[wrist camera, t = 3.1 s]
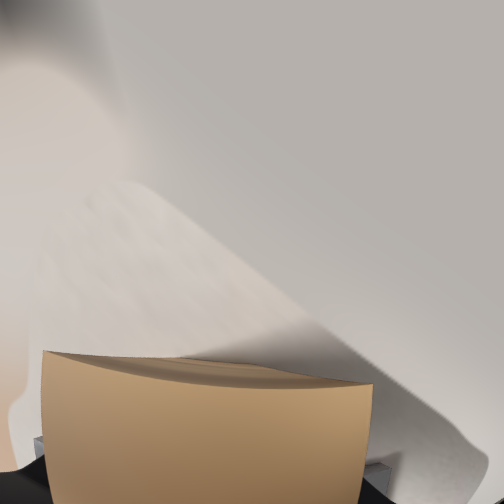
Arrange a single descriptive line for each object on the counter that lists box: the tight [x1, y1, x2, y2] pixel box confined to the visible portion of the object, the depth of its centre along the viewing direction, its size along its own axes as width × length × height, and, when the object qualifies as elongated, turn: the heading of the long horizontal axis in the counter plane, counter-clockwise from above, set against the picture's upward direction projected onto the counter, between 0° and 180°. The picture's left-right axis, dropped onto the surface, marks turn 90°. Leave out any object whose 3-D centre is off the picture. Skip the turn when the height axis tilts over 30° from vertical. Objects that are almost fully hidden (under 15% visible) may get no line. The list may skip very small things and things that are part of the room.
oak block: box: [41, 350, 373, 504], centre depth 8 cm, size 4×4×13 cm
